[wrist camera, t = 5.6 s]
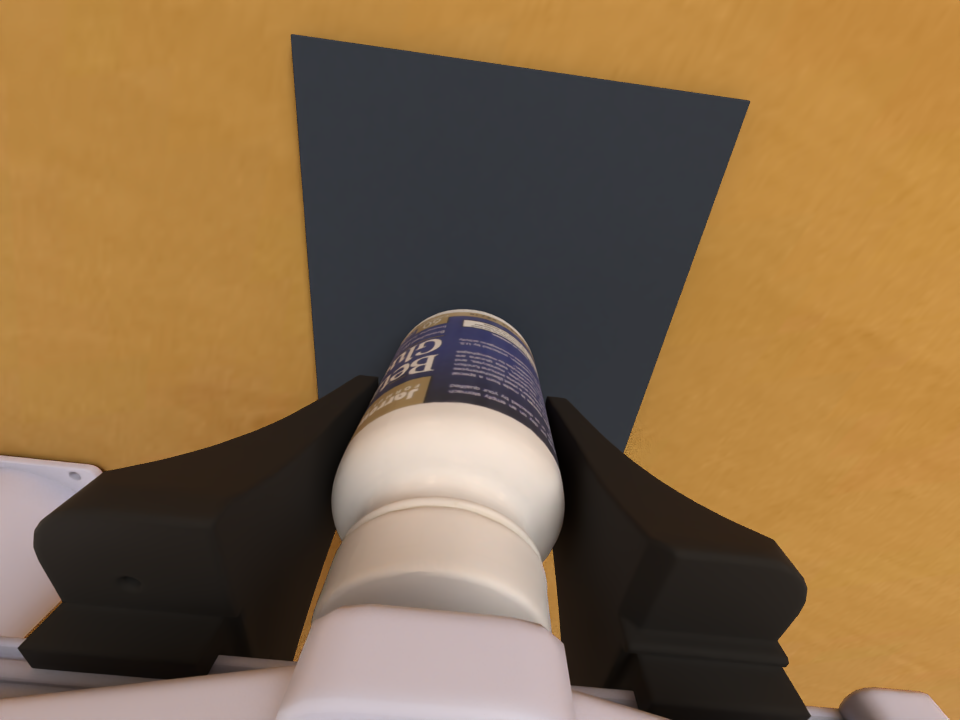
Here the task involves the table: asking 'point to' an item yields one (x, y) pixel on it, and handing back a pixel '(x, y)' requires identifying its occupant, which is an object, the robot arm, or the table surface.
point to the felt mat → (502, 211)
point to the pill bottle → (450, 479)
